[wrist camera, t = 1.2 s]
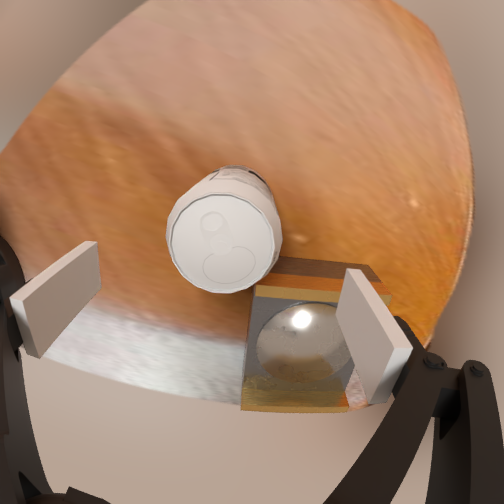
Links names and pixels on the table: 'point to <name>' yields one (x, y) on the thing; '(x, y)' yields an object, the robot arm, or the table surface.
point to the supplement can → (225, 230)
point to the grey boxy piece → (299, 338)
